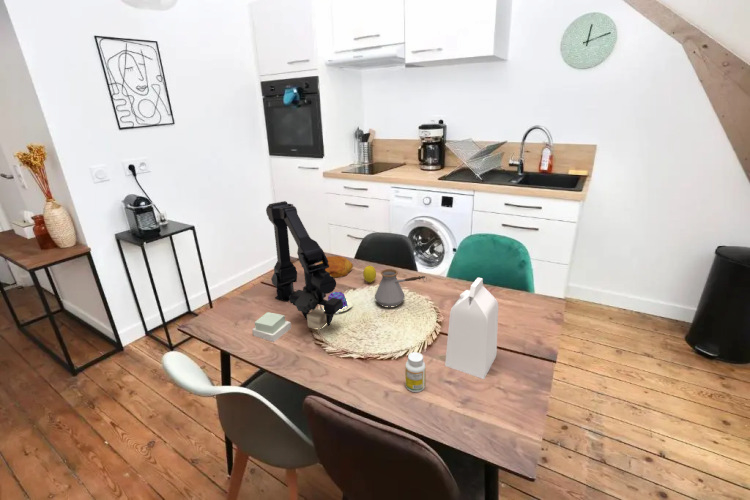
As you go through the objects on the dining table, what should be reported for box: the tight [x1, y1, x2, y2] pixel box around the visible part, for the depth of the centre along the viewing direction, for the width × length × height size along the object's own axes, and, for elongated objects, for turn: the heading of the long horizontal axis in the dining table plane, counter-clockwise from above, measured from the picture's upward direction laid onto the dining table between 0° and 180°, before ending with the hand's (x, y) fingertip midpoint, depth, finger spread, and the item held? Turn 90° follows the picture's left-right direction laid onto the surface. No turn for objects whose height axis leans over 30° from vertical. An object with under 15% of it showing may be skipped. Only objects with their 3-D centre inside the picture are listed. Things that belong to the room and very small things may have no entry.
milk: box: [444, 277, 499, 380], centre depth 109 cm, size 12×12×26 cm
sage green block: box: [254, 311, 286, 334], centre depth 129 cm, size 7×7×3 cm
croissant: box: [318, 255, 354, 279], centre depth 174 cm, size 14×16×8 cm
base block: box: [251, 320, 292, 343], centre depth 131 cm, size 9×9×3 cm
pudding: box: [327, 291, 348, 309], centre depth 145 cm, size 12×12×5 cm
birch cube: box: [306, 307, 327, 329], centre depth 133 cm, size 5×5×5 cm
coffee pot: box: [374, 268, 428, 308], centre depth 142 cm, size 21×12×15 cm, turn 54°
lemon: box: [362, 265, 377, 283], centre depth 163 cm, size 6×6×8 cm
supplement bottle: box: [404, 351, 427, 393], centre depth 103 cm, size 5×5×10 cm
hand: (317, 322), depth 134 cm, fingers open, 9 cm apart
